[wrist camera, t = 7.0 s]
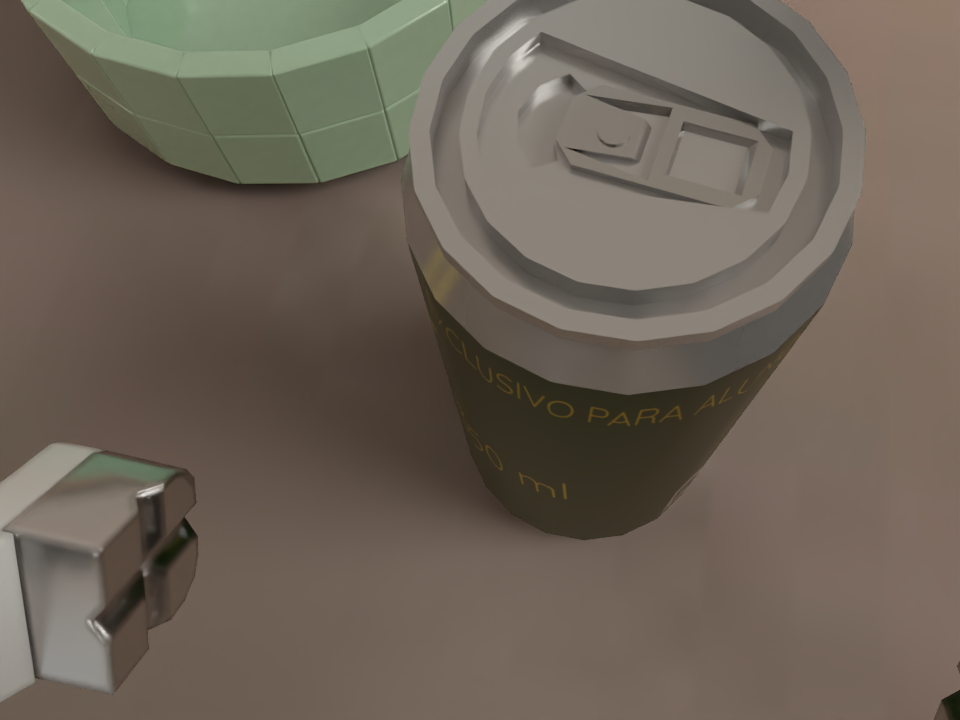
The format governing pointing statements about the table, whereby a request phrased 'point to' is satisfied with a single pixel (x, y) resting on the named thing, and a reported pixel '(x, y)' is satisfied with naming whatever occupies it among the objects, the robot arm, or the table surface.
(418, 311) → the table surface
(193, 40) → the bowl
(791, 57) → the beer can
